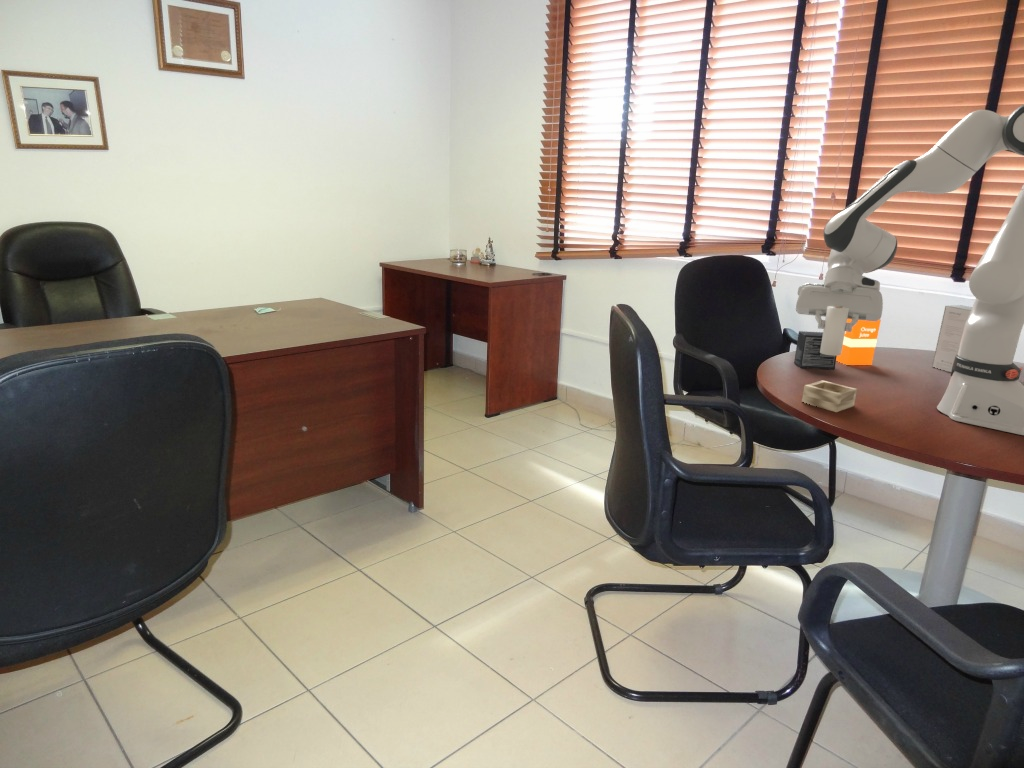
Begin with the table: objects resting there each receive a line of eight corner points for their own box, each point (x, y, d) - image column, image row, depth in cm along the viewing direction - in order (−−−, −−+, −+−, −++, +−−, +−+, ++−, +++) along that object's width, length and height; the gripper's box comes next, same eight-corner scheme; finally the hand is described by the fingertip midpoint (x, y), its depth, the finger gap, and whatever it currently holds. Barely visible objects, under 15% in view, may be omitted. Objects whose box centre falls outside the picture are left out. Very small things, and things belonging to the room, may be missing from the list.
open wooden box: (853, 406, 166) (857, 389, 165) (836, 412, 161) (839, 394, 159) (819, 396, 173) (822, 380, 172) (801, 402, 168) (804, 385, 166)
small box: (827, 364, 206) (833, 332, 203) (835, 370, 200) (841, 336, 197) (792, 362, 207) (798, 330, 204) (799, 368, 201) (805, 334, 198)
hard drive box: (996, 379, 197) (1013, 313, 191) (979, 380, 194) (996, 314, 189) (946, 365, 211) (961, 304, 205) (930, 367, 208) (944, 304, 202)
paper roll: (844, 354, 171) (853, 306, 167) (834, 356, 168) (843, 308, 164) (825, 350, 174) (833, 303, 171) (816, 352, 171) (823, 305, 168)
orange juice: (831, 359, 213) (842, 298, 207) (855, 359, 215) (867, 298, 209) (846, 365, 206) (859, 302, 200) (872, 365, 207) (885, 302, 201)
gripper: (800, 275, 176) (791, 317, 170) (886, 282, 167) (880, 326, 162) (798, 290, 181) (790, 331, 175) (883, 297, 172) (877, 340, 167)
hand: (834, 328), depth 169 cm, fingers closed on paper roll, 5 cm apart
